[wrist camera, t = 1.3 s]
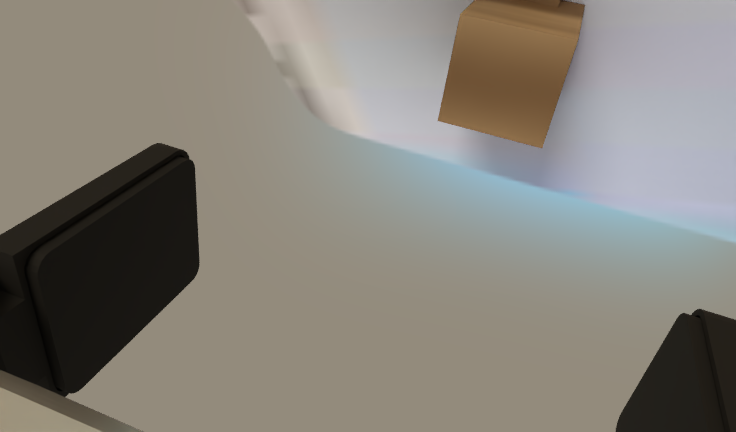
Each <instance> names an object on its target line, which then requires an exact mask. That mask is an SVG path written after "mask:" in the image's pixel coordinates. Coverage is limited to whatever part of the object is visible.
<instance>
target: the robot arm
mask: <svg viewBox="0 0 736 432" xmlns="http://www.w3.org/2000/svg"><path fill="white" fill-rule="evenodd" d="M196 203H197V202H196V182H195V166H194V163H193V161H191V160H190V159H189V156H188V154H187V152H185V151H184V150H181V149H178V148H174V147H171V146H168V145H165V144H162V143H157V144H154V145H152V146H150V147H148V148H147V149H145V150H143V151H142V152H140V153H138V154H137V155H135V156H133V157H131V158H130V159H128V160H126V161H125V162H123V163H121V164H120V165H118V166H116V167H115V168H113V169H111V170H109V171H108V172H106V173H104V174H103V175H101V176H100V177H98V178H96V179H94V180H93V181H91V182H90V183H88V184H86V185H84V186H82V187H81V188H79V189H77V190H76V191H74V192H72V193H71V194H69V195H67V196H65V197H64V198H62V199H61V200H59V201H57V202H55V203H54V204H52V205H50V206H49V207H47V208H45V209H43V210H42V211H40V212H38V213H37V214H35V215H33V216H32V217H30V218H28V219H27V220H25V221H23V222H22V223H20V224H18V225H16V226H15V227H13V228H12V229H10V230H8V231H6V232H5V233H3V234H1V235H0V432H143V431H141V430H139V429H136V428H134V427H132V426H129V425H127V424H125V423H123V422H120V421H118V420H116V419H114V418H111V417H109V416H107V415H104V414H102V413H100V412H97V411H95V410H93V409H90V408H88V407H86V406H84V405H81V404H79V403H77V402H74V401H72V400H70V399H67V398H65V397H66V396H67V395H68V394H69V393H75V392H77V391H79V390H80V389H82V388H83V387H84V386H85V385H86V384H87V383H88V382H89V381H90V380H91V379H92V378H93V377H94V376H95V375H96V374H97V373H98V372H99V371H100V370H101V369H102V368H103V367H104V366H105V365H106V364H107V363H108V362H109V361H110V360H111V359H112V358H113V357H114V356H116V355H117V353H119V352H120V351H121V350H122V349H123V348H124V347H125V346H126V345H127V344H128V343H129V342H130V341H131V340H132V339H133V338H134V337H135V336H136V335H137V334H138V333H139V332H140V331H141V330H142V329H143V328H144V327H145V326H146V325H147V324H148V323H149V322H150V321H151V320H152V319H153V318H154V317H155V316H156V315H158V314H159V313H160V312H161V311H162V310H163V309H164V308H165V307H166V306H167V305H168V304H169V303H170V302H171V301H172V300H173V299H174V298H175V297H176V296H177V295H178V294H179V293H180V292H181V291H182V290H183V289H184V288H185V287H186V286H187V285H188V284H189V283H190V282H191V281H192V280H193V279H194V278H195V276H196V274H197V272H198V269H199V244H198V224H197V204H196ZM616 432H736V320H734V319H731V318H728V317H725V316H721V315H718V314H715V313H712V312H708V311H705V310H702V309H697V310H696V311H694V312H693V313H692V315H689V314H685V313H682V314H681V315H679V317H678V318H677V319H676V321H675V323H674V325H673V326H672V328H671V330H670V331H669V333H668V335H667V337H666V338H665V340H664V341H663V343H662V345H661V347H660V349H659V350H658V352H657V353H656V355H655V357H654V358H653V360H652V362H651V363H650V365H649V367H648V369H647V370H646V372H645V374H644V376H643V377H642V379H641V381H640V382H639V384H638V386H637V387H636V389H635V391H634V392H633V394H632V396H631V397H630V399H629V401H628V403H627V404H626V406H625V407H624V409H623V411H622V413H621V415H620V417H619V420H618V423H617V428H616Z"/></svg>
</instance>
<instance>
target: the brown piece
mask: <svg viewBox="0 0 736 432" xmlns="http://www.w3.org/2000/svg"><path fill="white" fill-rule="evenodd" d="M584 7H585V5H583V4H578V3H573V2H568V1H563V0H475V1H474V2H473V3H471V4H470V5H469V6H468V7H467V8H466V9H465V10H464V11H463V12H462V13H461V14H460V18H459V23H458V27H457V32H456V37H455V42H454V46H453V51H452V56H451V61H450V65H449V70H448V75H447V80H446V84H445V89H444V94H443V98H442V103H441V108H440V113H439V117H438V121H441V122H445V123H448V124H452V125H456V126H460V127H464V128H467V129H471V130H475V131H479V132H482V133H486V134H490V135H494V136H497V137H501V138H505V139H509V140H513V141H516V142H520V143H524V144H528V145H531V146H535V147H539V148H542V147H543V144H544V141H545V138H546V135H547V132H548V129H549V126H550V123H551V120H552V117H553V114H554V111H555V108H556V105H557V102H558V99H559V96H560V93H561V90H562V87H563V84H564V81H565V78H566V75H567V72H568V69H569V66H570V63H571V60H572V57H573V54H574V51H575V48H576V45H577V42H578V38H579V33H580V28H581V23H582V18H583V12H584Z"/></svg>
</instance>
